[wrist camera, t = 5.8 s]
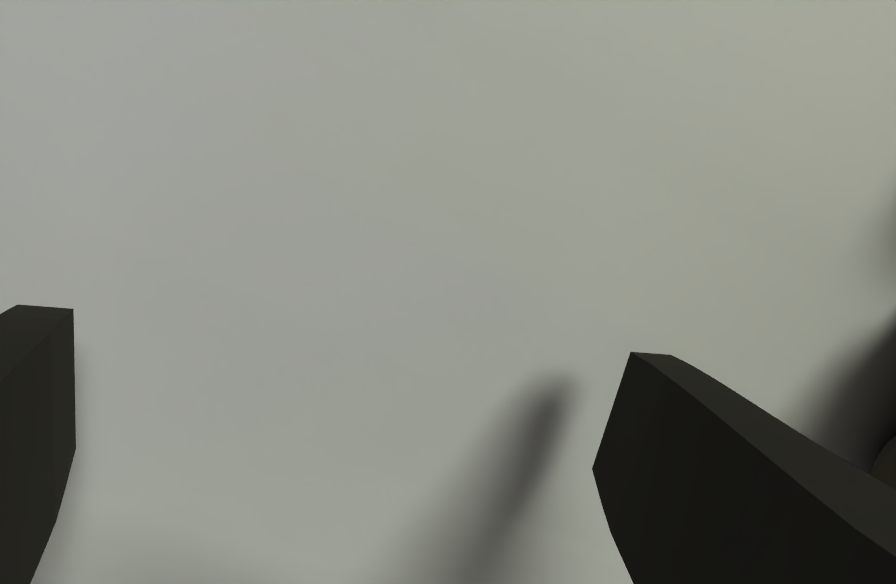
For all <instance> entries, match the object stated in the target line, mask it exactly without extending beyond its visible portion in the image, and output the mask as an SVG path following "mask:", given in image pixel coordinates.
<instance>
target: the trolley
mask: <svg viewBox="0 0 896 584" xmlns="http://www.w3.org/2000/svg"><path fill="white" fill-rule="evenodd" d="M870 475H871V476H872V477H874V478H876V479H877V480H879V481H881V482H883V483H884V484H886V485H888V486H890V487H892V488H894V489H895V490H896V436H894V437H893V438H892V439H891V440H890V441H889V442H888V443H887V444H886V445H885V446H884V447H883V448H882V450H881V451H880V453H879V454H878V456H877V458H876V460H875V461H874V464H873V466H872V469H871V473H870Z"/></svg>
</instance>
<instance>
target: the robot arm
mask: <svg viewBox="0 0 896 584" xmlns="http://www.w3.org/2000/svg"><path fill="white" fill-rule="evenodd" d="M75 449H76V434H75V376H74V317H73V309H67V308H54V307H42V306H29V305H16V306H14V307H12V308H10V309H8V310H7V311H5V312H3V313H2V314H0V584H30V583H31V580H32V578H33V576H34V573H35V571H36V568H37V566H38V564H39V561H40V559H41V556H42V554H43V552H44V549H45V547H46V544H47V542H48V540H49V537H50V535H51V532H52V530H53V527H54V525H55V522H56V520H57V516H58V512H59V509H60V505H61V502H62V498H63V495H64V491H65V487H66V484H67V480H68V476H69V472H70V468H71V464H72V461H73V457H74V453H75ZM592 470H593V474H594V477H595V481H596V485H597V488H598V492H599V496H600V499H601V503H602V506H603V509H604V513H605V516H606V519H607V522H608V525H609V528H610V532H611V534H612V536H613V539H614V541H615V543H616V546H617V548H618V550H619V552H620V555H621V557H622V559H623V561H624V563H625V566H626V568H627V570H628V572H629V574H630V577H631V579H632V581H633V583H634V584H896V490H895V489H894V488H892V487H890V486H888V485H886V484H884V483H883V482H881V481H879V480H877V479H876V478H874V477H872V476H871V475H869V474H867V473H865V472H864V471H862V470H860V469H858V468H857V467H855V466H853V465H852V464H850V463H848V462H846V461H845V460H843V459H841V458H840V457H838V456H836V455H834V454H833V453H831V452H830V451H828V450H826V449H825V448H823V447H821V446H820V445H818V444H817V443H815V442H813V441H812V440H810V439H808V438H807V437H805V436H804V435H802V434H800V433H799V432H797V431H796V430H794V429H792V428H791V427H789V426H788V425H786V424H785V423H783V422H781V421H780V420H778V419H777V418H775V417H774V416H772V415H771V414H769V413H767V412H766V411H764V410H763V409H761V408H760V407H758V406H757V405H755V404H753V403H752V402H750V401H749V400H747V399H746V398H744V397H742V396H741V395H739V394H738V393H736V392H735V391H733V390H731V389H730V388H728V387H727V386H725V385H724V384H722V383H720V382H719V381H717V380H715V379H714V378H712V377H711V376H709V375H707V374H706V373H704V372H702V371H701V370H699V369H697V368H695V367H694V366H692V365H690V364H688V363H686V362H684V361H682V360H680V359H678V358H676V357H674V356H672V355H664V354H651V353H638V352H630V356H629V359H628V362H627V365H626V368H625V371H624V374H623V377H622V380H621V383H620V386H619V389H618V392H617V395H616V398H615V401H614V404H613V407H612V410H611V413H610V416H609V419H608V422H607V425H606V428H605V431H604V434H603V437H602V440H601V444H600V447H599V450H598V453H597V456H596V459H595V462H594V465H593V468H592Z"/></svg>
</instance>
